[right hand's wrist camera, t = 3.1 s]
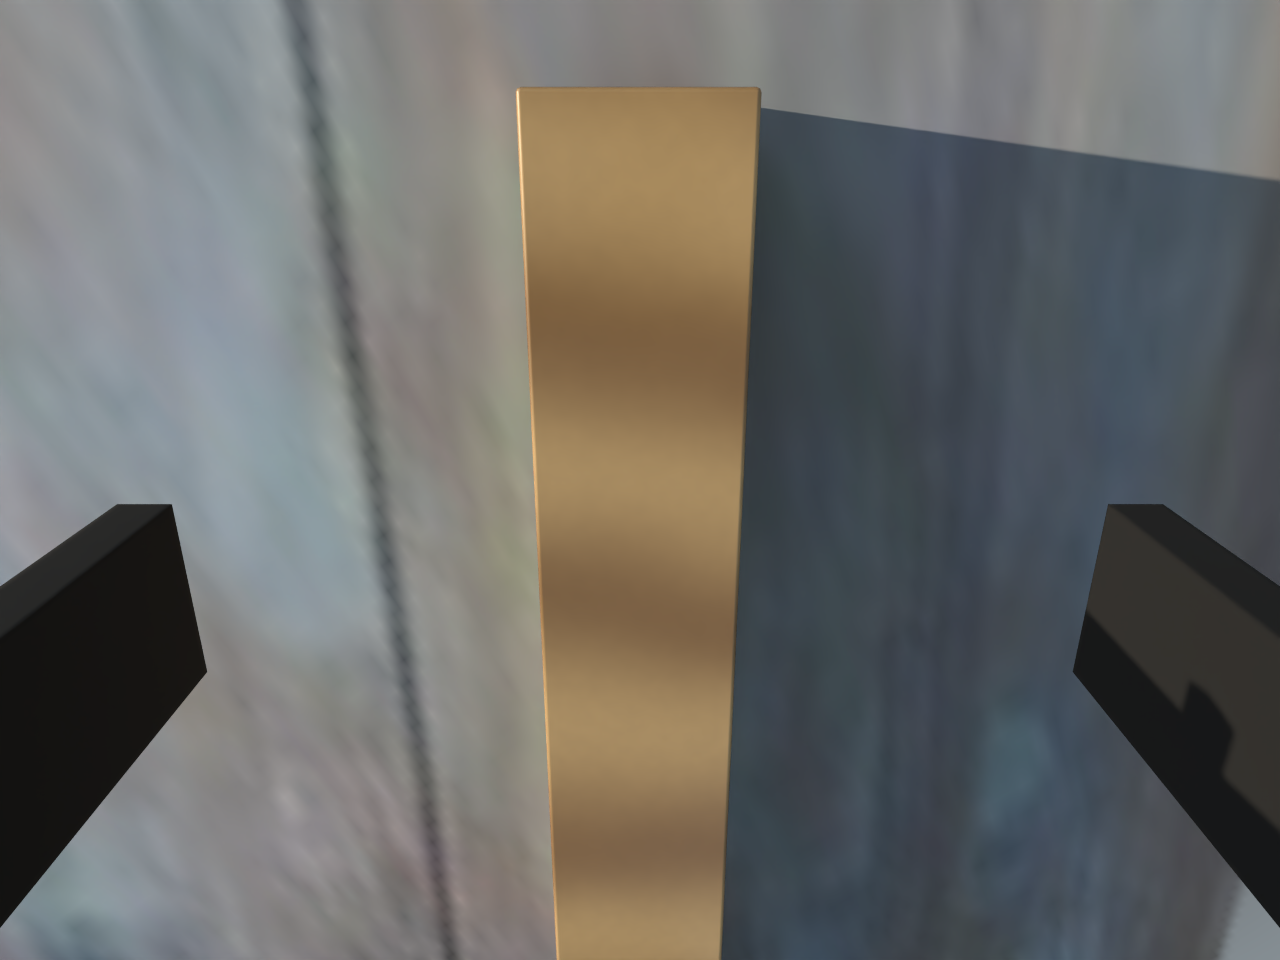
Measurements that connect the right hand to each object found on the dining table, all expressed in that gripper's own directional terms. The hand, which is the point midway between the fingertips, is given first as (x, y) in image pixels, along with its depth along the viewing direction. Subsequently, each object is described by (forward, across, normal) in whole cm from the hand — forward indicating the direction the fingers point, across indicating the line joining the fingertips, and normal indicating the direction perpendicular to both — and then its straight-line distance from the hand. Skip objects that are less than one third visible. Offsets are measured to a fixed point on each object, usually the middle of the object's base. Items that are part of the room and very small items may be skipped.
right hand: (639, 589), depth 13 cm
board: (+16, 0, -26) cm, 30 cm away
